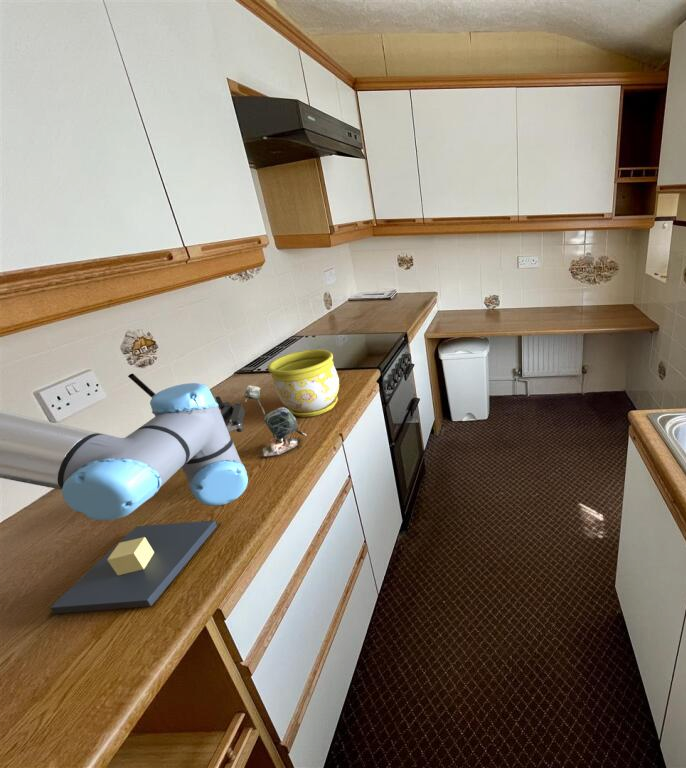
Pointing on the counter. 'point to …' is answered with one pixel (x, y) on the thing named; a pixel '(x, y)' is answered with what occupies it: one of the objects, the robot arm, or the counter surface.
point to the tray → (139, 586)
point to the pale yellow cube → (131, 556)
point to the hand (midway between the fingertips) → (191, 410)
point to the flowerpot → (306, 382)
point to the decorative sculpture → (276, 426)
